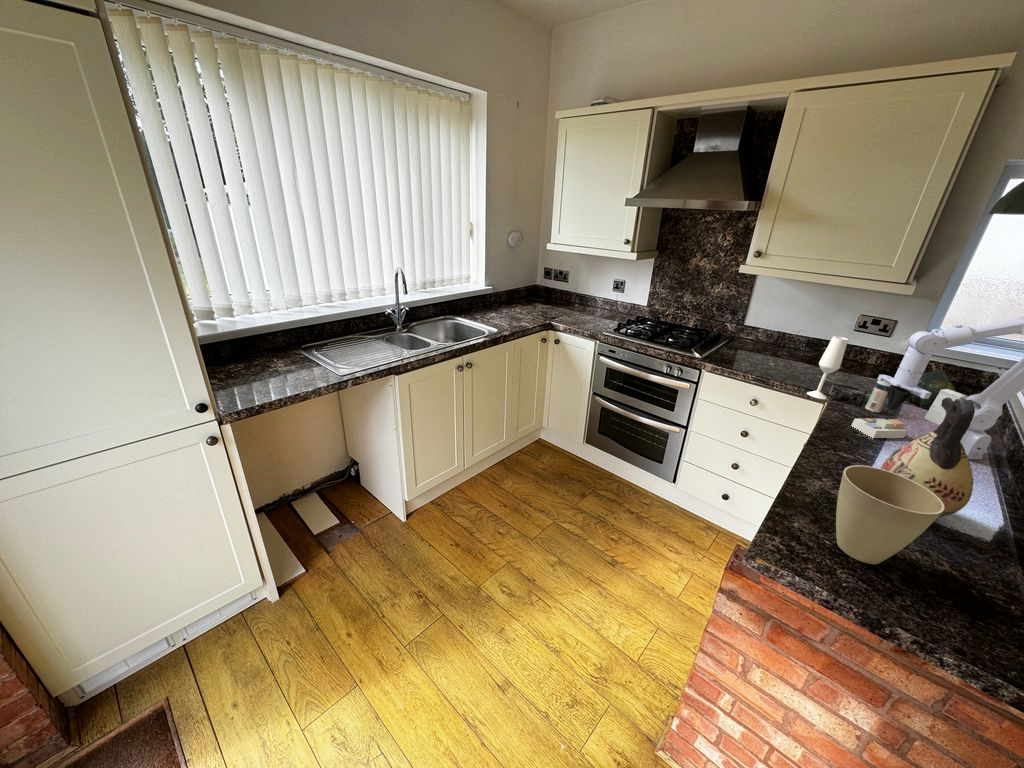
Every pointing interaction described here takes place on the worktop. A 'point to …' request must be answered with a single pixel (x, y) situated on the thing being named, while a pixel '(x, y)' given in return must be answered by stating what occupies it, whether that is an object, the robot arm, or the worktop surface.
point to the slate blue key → (874, 425)
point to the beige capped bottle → (878, 397)
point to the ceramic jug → (940, 458)
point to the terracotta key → (896, 423)
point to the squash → (932, 387)
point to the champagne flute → (830, 361)
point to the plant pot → (881, 513)
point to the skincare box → (936, 410)
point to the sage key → (885, 423)
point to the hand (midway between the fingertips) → (891, 409)
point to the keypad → (877, 433)
